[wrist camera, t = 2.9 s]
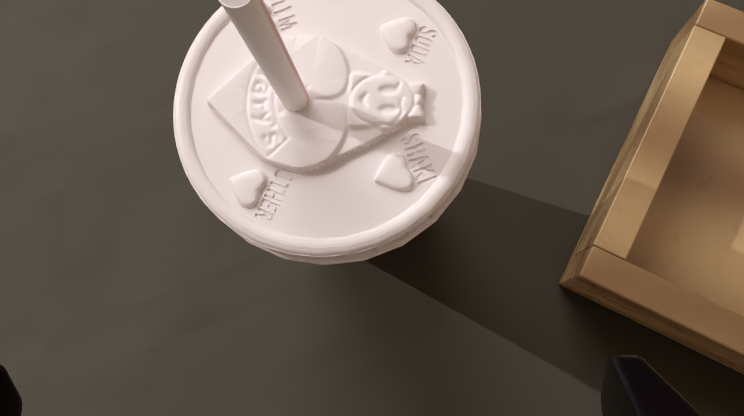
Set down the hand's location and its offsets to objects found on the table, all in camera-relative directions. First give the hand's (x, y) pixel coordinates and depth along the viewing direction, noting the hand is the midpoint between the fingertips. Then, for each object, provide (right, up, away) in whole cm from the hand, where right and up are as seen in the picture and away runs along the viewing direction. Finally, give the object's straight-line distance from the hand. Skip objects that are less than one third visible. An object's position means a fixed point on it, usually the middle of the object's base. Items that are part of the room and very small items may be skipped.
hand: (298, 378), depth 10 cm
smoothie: (+1, +3, +13) cm, 13 cm away
